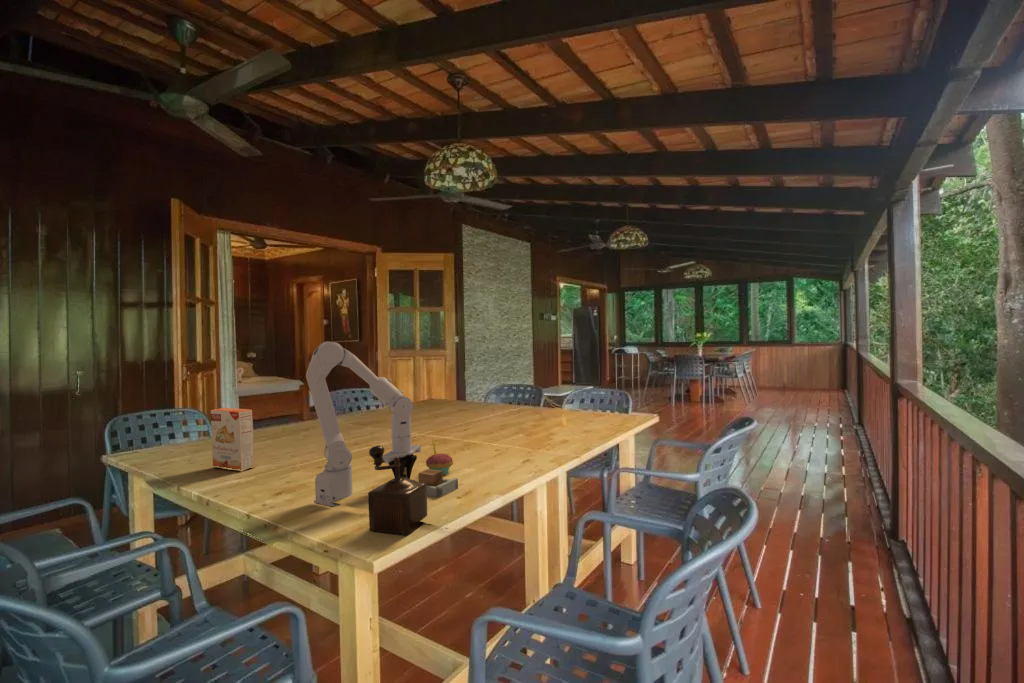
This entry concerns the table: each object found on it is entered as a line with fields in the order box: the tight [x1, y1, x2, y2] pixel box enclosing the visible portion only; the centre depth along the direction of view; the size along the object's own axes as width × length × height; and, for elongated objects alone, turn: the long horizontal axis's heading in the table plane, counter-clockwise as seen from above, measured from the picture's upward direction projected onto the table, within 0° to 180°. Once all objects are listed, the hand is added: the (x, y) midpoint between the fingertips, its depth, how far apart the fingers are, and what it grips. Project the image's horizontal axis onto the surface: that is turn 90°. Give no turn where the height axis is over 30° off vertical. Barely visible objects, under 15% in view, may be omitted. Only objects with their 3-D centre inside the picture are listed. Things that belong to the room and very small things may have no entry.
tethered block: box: [403, 467, 444, 487], centre depth 144 cm, size 4×14×5 cm, turn 60°
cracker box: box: [210, 407, 255, 470], centre depth 174 cm, size 14×6×21 cm, turn 67°
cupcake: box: [425, 439, 454, 475], centre depth 159 cm, size 9×8×12 cm
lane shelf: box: [427, 477, 459, 498], centre depth 143 cm, size 12×18×4 cm, turn 60°
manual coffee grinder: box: [367, 444, 428, 537], centre depth 120 cm, size 16×11×18 cm
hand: (402, 481), depth 147 cm, fingers closed on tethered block, 2 cm apart
